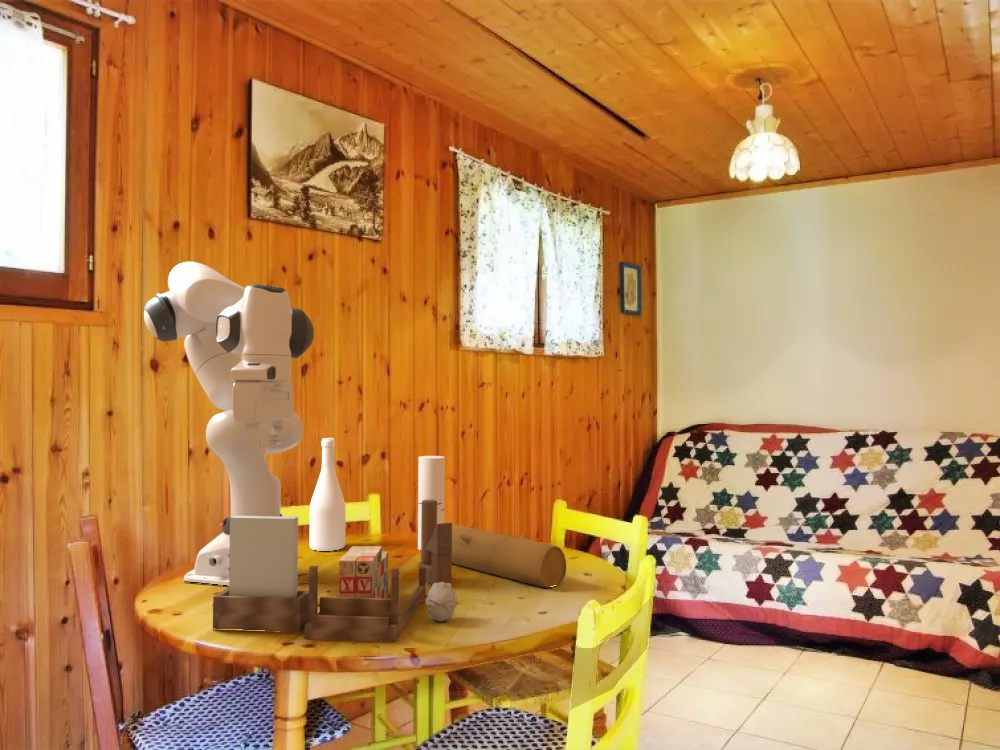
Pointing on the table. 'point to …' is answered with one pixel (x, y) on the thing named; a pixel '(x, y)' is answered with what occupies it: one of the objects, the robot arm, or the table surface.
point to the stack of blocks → (364, 573)
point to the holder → (261, 612)
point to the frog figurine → (441, 601)
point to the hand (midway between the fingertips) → (265, 446)
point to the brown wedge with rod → (435, 545)
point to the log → (508, 556)
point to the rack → (361, 613)
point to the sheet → (263, 556)
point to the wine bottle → (327, 505)
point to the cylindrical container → (431, 486)
